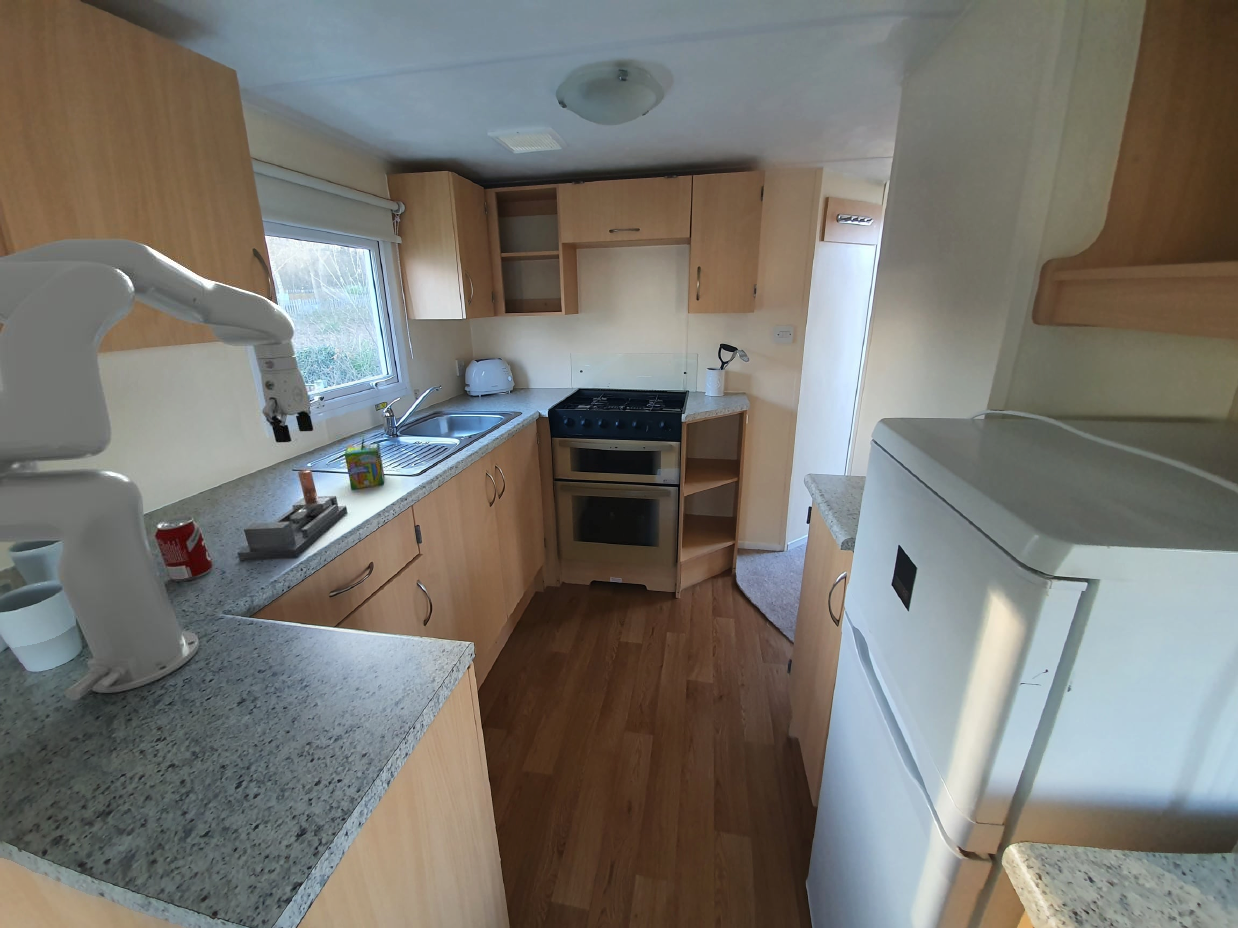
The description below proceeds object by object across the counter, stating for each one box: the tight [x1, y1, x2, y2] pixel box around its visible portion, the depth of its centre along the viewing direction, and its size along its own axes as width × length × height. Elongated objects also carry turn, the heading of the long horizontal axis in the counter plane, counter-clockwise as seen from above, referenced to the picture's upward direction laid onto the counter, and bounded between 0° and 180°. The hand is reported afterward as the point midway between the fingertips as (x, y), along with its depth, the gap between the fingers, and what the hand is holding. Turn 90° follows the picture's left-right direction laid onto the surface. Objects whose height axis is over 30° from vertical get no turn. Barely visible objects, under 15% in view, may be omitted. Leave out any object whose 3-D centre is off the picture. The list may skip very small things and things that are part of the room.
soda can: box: [154, 516, 213, 582], centre depth 98 cm, size 7×7×12 cm
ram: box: [290, 469, 332, 524], centre depth 119 cm, size 10×7×11 cm
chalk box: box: [344, 435, 385, 490], centre depth 147 cm, size 9×9×15 cm
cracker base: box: [237, 495, 348, 562], centre depth 115 cm, size 24×12×7 cm, turn 4°
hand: (295, 436), depth 117 cm, fingers open, 9 cm apart
